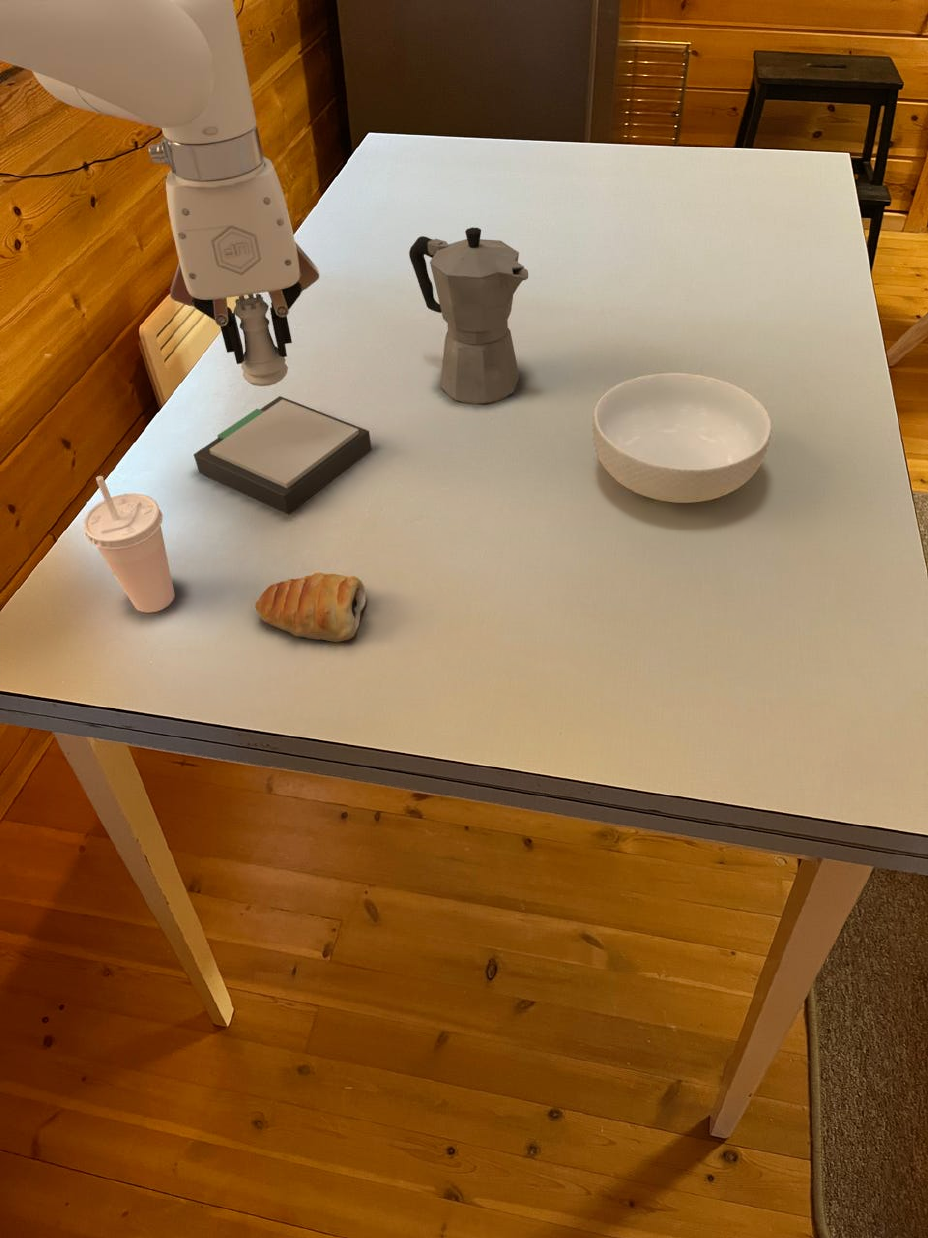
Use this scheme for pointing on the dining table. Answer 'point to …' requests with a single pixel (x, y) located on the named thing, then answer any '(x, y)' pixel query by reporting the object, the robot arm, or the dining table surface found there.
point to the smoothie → (132, 546)
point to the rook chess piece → (258, 343)
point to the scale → (283, 453)
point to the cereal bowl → (680, 436)
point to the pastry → (315, 606)
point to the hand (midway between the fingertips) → (260, 351)
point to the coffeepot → (473, 312)
